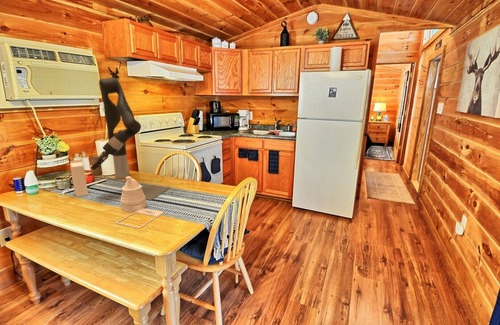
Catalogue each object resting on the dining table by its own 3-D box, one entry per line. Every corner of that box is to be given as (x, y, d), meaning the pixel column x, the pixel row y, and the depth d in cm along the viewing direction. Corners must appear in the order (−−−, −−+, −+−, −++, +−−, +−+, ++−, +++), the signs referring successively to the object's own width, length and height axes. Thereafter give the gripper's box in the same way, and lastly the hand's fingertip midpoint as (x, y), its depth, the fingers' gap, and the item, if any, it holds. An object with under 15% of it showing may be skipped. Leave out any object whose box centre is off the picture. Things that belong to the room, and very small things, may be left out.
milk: (88, 194, 160) (83, 160, 154) (76, 197, 156) (70, 162, 150) (85, 191, 164) (80, 158, 158) (74, 194, 160) (69, 159, 154)
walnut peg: (97, 173, 155) (94, 155, 152) (104, 174, 154) (101, 156, 151) (91, 175, 151) (88, 157, 148) (98, 176, 150) (95, 158, 147)
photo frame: (163, 211, 136) (139, 227, 120) (164, 213, 136) (139, 229, 120) (141, 207, 141) (115, 222, 124) (141, 209, 141) (115, 224, 124)
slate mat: (146, 185, 176) (146, 184, 176) (169, 188, 173) (169, 187, 172) (124, 197, 156) (124, 196, 155) (150, 200, 152) (150, 199, 152)
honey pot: (137, 212, 136) (133, 180, 131) (115, 210, 138) (111, 178, 134) (151, 203, 148) (148, 173, 144) (131, 201, 151) (127, 171, 146)
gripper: (108, 139, 157) (87, 160, 154) (107, 143, 144) (85, 166, 142) (118, 147, 160) (99, 168, 158) (119, 152, 148) (98, 174, 146)
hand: (93, 167), depth 150 cm, fingers closed on walnut peg, 4 cm apart
